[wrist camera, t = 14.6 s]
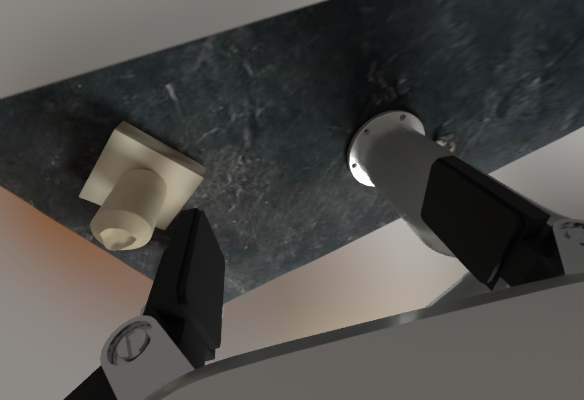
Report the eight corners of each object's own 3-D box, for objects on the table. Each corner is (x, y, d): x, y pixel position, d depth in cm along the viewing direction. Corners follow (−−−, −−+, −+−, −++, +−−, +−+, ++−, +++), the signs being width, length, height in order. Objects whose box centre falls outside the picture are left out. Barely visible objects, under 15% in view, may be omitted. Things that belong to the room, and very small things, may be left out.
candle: (150, 210, 35) (126, 267, 27) (110, 186, 32) (70, 242, 24) (176, 186, 34) (160, 239, 26) (137, 159, 31) (105, 209, 23)
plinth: (205, 167, 36) (204, 177, 34) (168, 217, 40) (164, 230, 37) (123, 120, 31) (114, 129, 28) (88, 184, 34) (78, 196, 32)
